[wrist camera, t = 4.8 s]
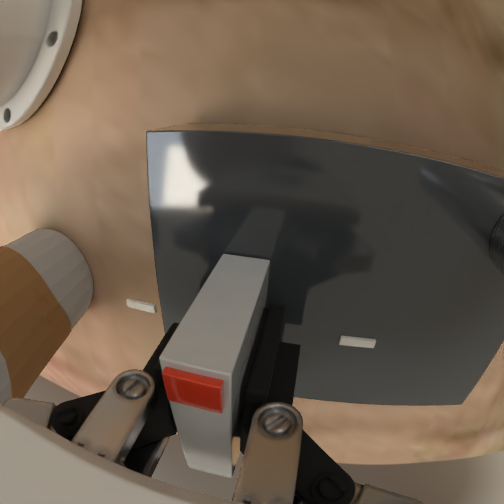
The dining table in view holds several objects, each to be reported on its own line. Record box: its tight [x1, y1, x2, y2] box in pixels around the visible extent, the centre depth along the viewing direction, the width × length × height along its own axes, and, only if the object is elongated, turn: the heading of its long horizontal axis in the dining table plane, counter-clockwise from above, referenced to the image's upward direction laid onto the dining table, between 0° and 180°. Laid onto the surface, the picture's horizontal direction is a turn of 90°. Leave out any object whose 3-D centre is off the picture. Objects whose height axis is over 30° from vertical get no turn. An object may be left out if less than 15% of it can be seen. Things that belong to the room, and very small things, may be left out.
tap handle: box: [159, 254, 270, 478], centre depth 9 cm, size 6×2×5 cm, turn 177°
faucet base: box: [126, 123, 504, 406], centre depth 12 cm, size 17×11×4 cm, turn 87°
